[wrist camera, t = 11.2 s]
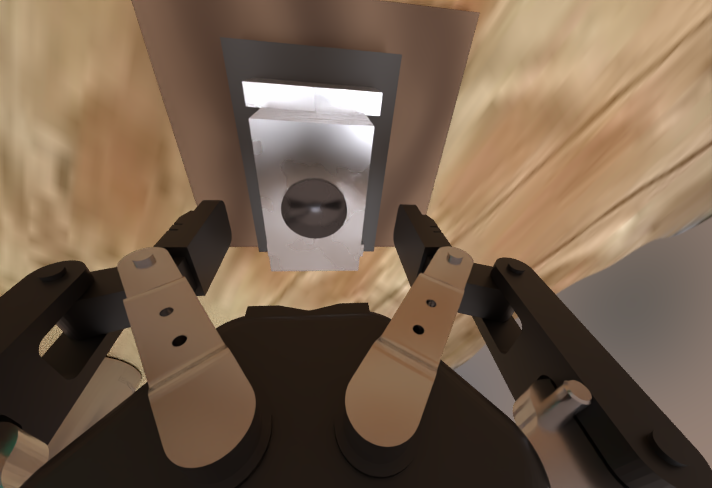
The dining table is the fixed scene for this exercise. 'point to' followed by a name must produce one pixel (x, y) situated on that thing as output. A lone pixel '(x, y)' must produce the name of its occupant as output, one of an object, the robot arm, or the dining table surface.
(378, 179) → the stand
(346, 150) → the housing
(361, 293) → the dining table surface
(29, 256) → the dining table surface
